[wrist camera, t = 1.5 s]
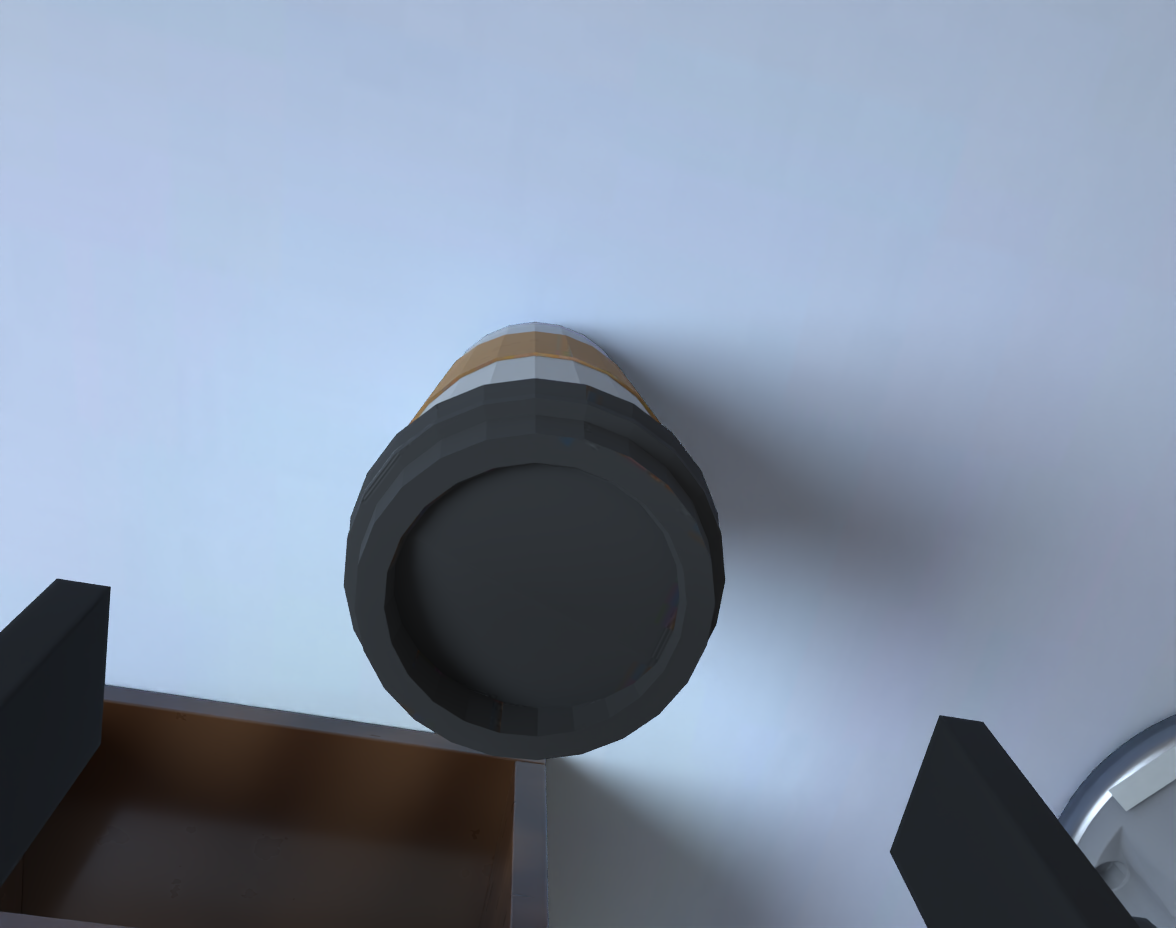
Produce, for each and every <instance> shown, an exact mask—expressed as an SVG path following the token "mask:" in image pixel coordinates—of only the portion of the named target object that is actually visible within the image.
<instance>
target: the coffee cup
mask: <svg viewBox="0 0 1176 928" xmlns="http://www.w3.org/2000/svg"><path fill="white" fill-rule="evenodd" d="M724 584H725V572H724V560H723V548H722V536H721V531H720V528H719V522H718V513H717V510H716V508H715V505H714V503H713V500H712V497H711V495H710V492H709V490H708V487H707V484H706V482H705V479H704V477H703V474H702V471H701V470H700V469H699V467H698V466H697V465H696V463H695V462H694V461H693V459H692V458H691V457H690V455H689V454H688V453H687V451H686V450H685V449H684V447H683V446H682V445H681V444H680V442H679V441H678V440H677V438H676V437H675V436H674V434H673V433H672V432H670V431H669V430H668V429H667V428H665V427H664V426H663V425H661V423H660V422H659V421H658V419H657V418H656V416H655V415H654V414H653V412H652V411H651V410H650V408H649V407H648V406H647V404H646V403H645V402H644V400H643V399H642V398H641V396H640V395H639V393H638V392H637V391H636V389H635V388H634V387H633V385H632V384H631V383H630V381H629V380H628V379H627V378H626V376H625V375H624V374H623V372H622V371H621V370H620V368H619V367H618V366H617V364H615V363H614V362H613V361H611V360H610V359H609V357H608V356H607V355H606V353H605V352H604V351H603V350H602V349H601V348H600V347H598V346H597V345H596V344H594V343H593V342H592V341H591V340H589V339H588V338H587V337H585V336H584V335H582V334H580V333H577V332H575V331H573V330H570V329H568V328H565V327H563V326H560V325H554V324H546V323H538V322H531V323H524V324H516V325H509V326H507V327H504V328H502V329H500V330H497V331H495V332H492V333H490V334H487V335H486V336H484V337H483V338H482V339H481V340H479V341H478V342H477V343H475V344H474V345H473V346H472V347H470V348H469V349H468V350H467V351H466V352H465V353H464V355H463V356H462V357H461V358H459V359H458V360H457V361H456V362H455V363H454V364H453V366H452V367H451V368H450V370H449V371H448V372H447V374H446V375H445V376H444V378H443V379H442V380H441V382H440V383H439V384H438V386H437V387H436V388H435V390H434V391H433V392H432V394H431V395H430V396H429V398H428V399H427V401H426V402H425V403H424V405H423V406H422V407H421V409H420V410H419V411H418V413H417V414H416V416H415V417H414V418H413V420H412V421H411V422H410V424H409V425H408V426H407V427H405V428H404V429H403V430H402V431H400V432H399V433H398V434H396V436H395V437H394V438H393V440H392V441H391V442H390V444H389V445H388V446H387V448H386V449H385V450H384V452H383V453H382V454H381V456H380V457H379V458H378V460H377V461H376V462H375V464H374V465H373V466H372V468H371V469H370V470H369V472H368V473H367V475H366V478H365V480H364V483H363V486H362V488H361V491H360V494H359V496H358V499H357V502H356V504H355V507H354V510H353V512H352V515H351V519H350V531H349V533H348V538H347V549H346V562H345V576H344V588H345V593H346V597H347V602H348V606H349V611H350V615H351V620H352V625H353V629H354V631H355V633H356V635H357V637H358V639H359V641H360V642H361V644H362V646H363V650H364V652H365V654H366V656H367V657H368V659H369V661H370V663H371V665H372V667H373V669H374V670H375V672H376V674H377V676H378V678H379V680H380V681H381V683H382V685H383V687H384V688H385V690H386V691H387V692H388V693H389V694H390V695H391V696H392V697H393V698H394V699H395V700H396V701H397V702H398V703H399V704H400V705H401V706H402V707H403V708H404V709H405V710H406V711H407V712H408V713H409V715H410V716H411V717H412V718H413V719H414V720H416V721H418V722H419V723H421V724H422V725H424V726H426V727H427V728H429V729H431V730H432V731H434V732H435V733H437V734H439V735H440V736H442V737H443V738H445V739H447V740H448V741H450V742H452V743H455V744H458V745H461V746H464V747H467V748H470V749H473V750H476V751H479V752H482V753H485V754H488V755H491V756H497V757H508V758H519V759H530V760H542V759H550V758H557V757H565V756H572V755H580V754H584V753H586V752H589V751H592V750H594V749H597V748H600V747H602V746H605V745H607V744H610V743H613V742H615V741H618V740H621V739H623V738H625V737H626V736H628V735H629V734H631V733H632V732H634V731H635V730H637V729H638V728H640V727H641V726H643V725H644V724H645V723H647V722H648V721H650V720H651V719H653V718H654V717H656V716H657V715H659V714H660V713H661V712H662V711H663V709H664V708H665V707H666V706H667V705H668V704H669V703H670V702H671V701H672V699H673V698H674V697H675V696H676V695H677V694H678V693H679V692H680V691H681V689H682V688H683V687H684V686H685V685H686V684H687V683H688V681H689V679H690V677H691V675H692V673H693V671H694V669H695V667H696V665H697V663H698V661H699V659H700V657H701V655H702V654H703V652H704V650H705V648H706V646H707V642H708V640H709V638H710V636H711V634H712V632H713V630H714V628H715V626H716V624H717V619H718V614H719V609H720V604H721V599H722V594H723V589H724Z"/></svg>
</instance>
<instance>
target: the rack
mask: <svg viewBox="0 0 1176 928" xmlns="http://www.w3.org/2000/svg"><path fill="white" fill-rule="evenodd" d="M0 928H549V918H548V862H547V805H546V759H542V760H530V759H519V758H508V757H497V756H491V755H488V754H485V753H482V752H479V751H476V750H473V749H470V748H467V747H464V746H461V745H458V744H455V743H452V742H450V741H448V740H447V739H445V738H443V737H442V736H440V735H439V734H435V733H428V732H422V731H415V730H408V729H401V728H394V727H388V726H381V725H374V724H367V723H360V722H353V721H347V720H340V719H333V718H326V717H319V716H312V715H306V714H299V713H292V712H285V711H278V710H272V709H265V708H258V707H251V706H244V705H237V704H231V703H224V702H217V701H210V700H203V699H196V698H190V697H183V696H176V695H169V694H162V693H156V692H149V691H142V690H135V689H128V688H121V687H115V686H108V685H104V701H103V717H102V733H101V745H100V746H99V747H98V749H97V750H96V752H95V753H94V755H93V756H92V757H91V759H90V760H89V762H88V763H87V765H86V766H85V767H84V769H83V770H82V772H81V773H80V775H79V776H78V777H77V779H76V780H75V782H74V783H73V785H72V786H71V787H70V789H69V790H68V792H67V793H66V795H65V796H64V798H63V799H62V800H61V802H60V803H59V805H58V806H57V808H56V809H55V810H54V812H53V813H52V815H51V816H50V818H49V819H48V820H47V822H46V823H45V825H44V826H43V828H42V829H41V830H40V832H39V833H38V835H37V836H36V838H35V839H34V840H33V842H32V843H31V845H30V846H29V848H28V849H27V851H26V852H25V853H24V855H23V856H22V858H21V859H20V861H19V862H18V863H17V865H16V866H15V868H14V869H13V871H12V872H11V873H10V875H9V876H8V878H7V879H6V881H5V882H4V883H3V885H2V886H1V888H0Z"/></svg>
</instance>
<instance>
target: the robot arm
mask: <svg viewBox="0 0 1176 928" xmlns="http://www.w3.org/2000/svg"><path fill="white" fill-rule="evenodd" d="M110 589H111V587H108V586H101V585H95V584H89V583H82V582H76V581H69V580H63V579H56V580H55V581H54V582H53V583H52V584H51V585H50V586H49V587H48V588H46V589H45V590H44V591H43V592H42V593H41V594H40V595H39V596H38V597H37V598H36V599H35V600H34V601H33V602H32V603H31V604H30V605H29V606H27V607H26V608H25V609H24V610H23V611H22V612H21V613H20V614H19V615H18V616H17V617H16V618H15V619H14V620H13V621H12V622H11V623H10V624H9V625H7V626H6V627H5V628H4V629H3V630H2V631H1V632H0V888H1V886H2V885H3V883H4V882H5V881H6V879H7V878H8V876H9V875H10V873H11V872H12V871H13V869H14V868H15V866H16V865H17V863H18V862H19V861H20V859H21V858H22V856H23V855H24V853H25V852H26V851H27V849H28V848H29V846H30V845H31V843H32V842H33V840H34V839H35V838H36V836H37V835H38V833H39V832H40V830H41V829H42V828H43V826H44V825H45V823H46V822H47V820H48V819H49V818H50V816H51V815H52V813H53V812H54V810H55V809H56V808H57V806H58V805H59V803H60V802H61V800H62V799H63V798H64V796H65V795H66V793H67V792H68V790H69V789H70V787H71V786H72V785H73V783H74V782H75V780H76V779H77V777H78V776H79V775H80V773H81V772H82V770H83V769H84V767H85V766H86V765H87V763H88V762H89V760H90V759H91V757H92V756H93V755H94V753H95V752H96V750H97V749H98V747H99V746H100V745H101V733H102V717H103V701H104V685H105V669H106V653H107V637H108V621H109V605H110ZM890 853H891V855H892V857H893V859H894V861H895V863H896V865H897V867H898V869H899V871H900V873H901V875H902V877H903V879H904V881H905V883H906V885H907V887H908V889H909V891H910V893H911V895H912V897H913V899H914V901H915V903H916V906H917V908H918V910H919V912H920V914H921V916H922V918H923V920H924V922H925V924H926V926H927V928H1176V715H1174V716H1171V717H1169V718H1167V719H1165V720H1163V721H1161V722H1159V723H1157V724H1155V725H1153V726H1151V727H1149V728H1148V729H1146V730H1144V731H1143V732H1141V733H1139V734H1138V735H1136V736H1135V737H1133V738H1132V739H1130V740H1129V741H1128V742H1126V743H1125V744H1123V745H1122V746H1121V747H1119V748H1118V749H1117V750H1116V751H1114V752H1113V753H1112V754H1111V755H1110V756H1108V757H1107V758H1106V759H1105V760H1104V761H1103V762H1102V763H1101V764H1100V765H1099V766H1098V767H1097V768H1096V769H1095V770H1094V771H1093V772H1092V773H1091V774H1090V775H1089V776H1088V777H1087V778H1086V780H1085V781H1084V782H1083V783H1082V784H1081V785H1080V787H1079V788H1078V789H1077V791H1076V792H1075V794H1074V795H1073V796H1072V798H1071V799H1070V800H1069V802H1068V804H1067V806H1066V807H1065V809H1064V811H1063V812H1062V814H1061V816H1060V818H1059V820H1058V819H1057V818H1056V817H1055V815H1054V814H1053V813H1052V811H1051V810H1050V809H1049V808H1048V806H1047V805H1046V804H1045V802H1044V801H1043V800H1042V798H1041V797H1040V796H1039V794H1038V793H1037V792H1036V791H1035V789H1034V788H1033V787H1032V785H1031V784H1030V783H1029V781H1028V780H1027V779H1026V777H1025V776H1024V775H1023V774H1022V772H1021V771H1020V770H1019V768H1018V767H1017V766H1016V764H1015V763H1014V762H1013V760H1012V759H1011V758H1010V757H1009V755H1008V754H1007V753H1006V751H1005V750H1004V749H1003V747H1002V746H1001V745H1000V743H999V742H998V741H997V740H996V738H995V737H994V736H993V734H992V733H991V732H990V730H989V729H988V728H987V726H986V725H985V724H984V722H980V721H974V720H967V719H961V718H954V717H948V716H941V715H939V718H938V721H937V724H936V726H935V729H934V732H933V735H932V737H931V740H930V743H929V746H928V748H927V751H926V754H925V757H924V759H923V762H922V765H921V768H920V770H919V773H918V776H917V779H916V781H915V784H914V787H913V790H912V792H911V795H910V798H909V801H908V803H907V806H906V809H905V812H904V814H903V817H902V820H901V823H900V825H899V828H898V831H897V834H896V836H895V839H894V842H893V845H892V847H891V850H890Z"/></svg>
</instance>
